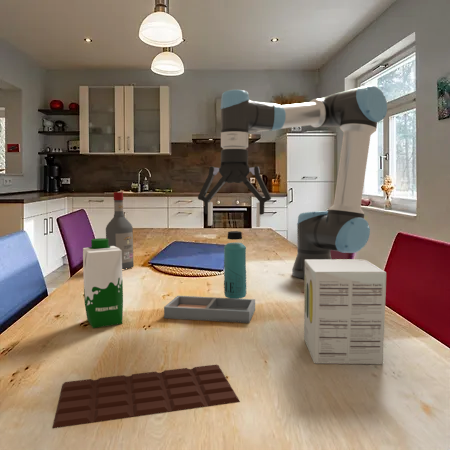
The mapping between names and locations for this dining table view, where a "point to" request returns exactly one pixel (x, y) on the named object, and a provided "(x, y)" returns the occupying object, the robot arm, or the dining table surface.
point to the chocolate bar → (142, 395)
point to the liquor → (121, 232)
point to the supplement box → (344, 311)
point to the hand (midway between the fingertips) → (234, 226)
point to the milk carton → (103, 283)
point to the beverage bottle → (235, 267)
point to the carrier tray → (210, 309)
